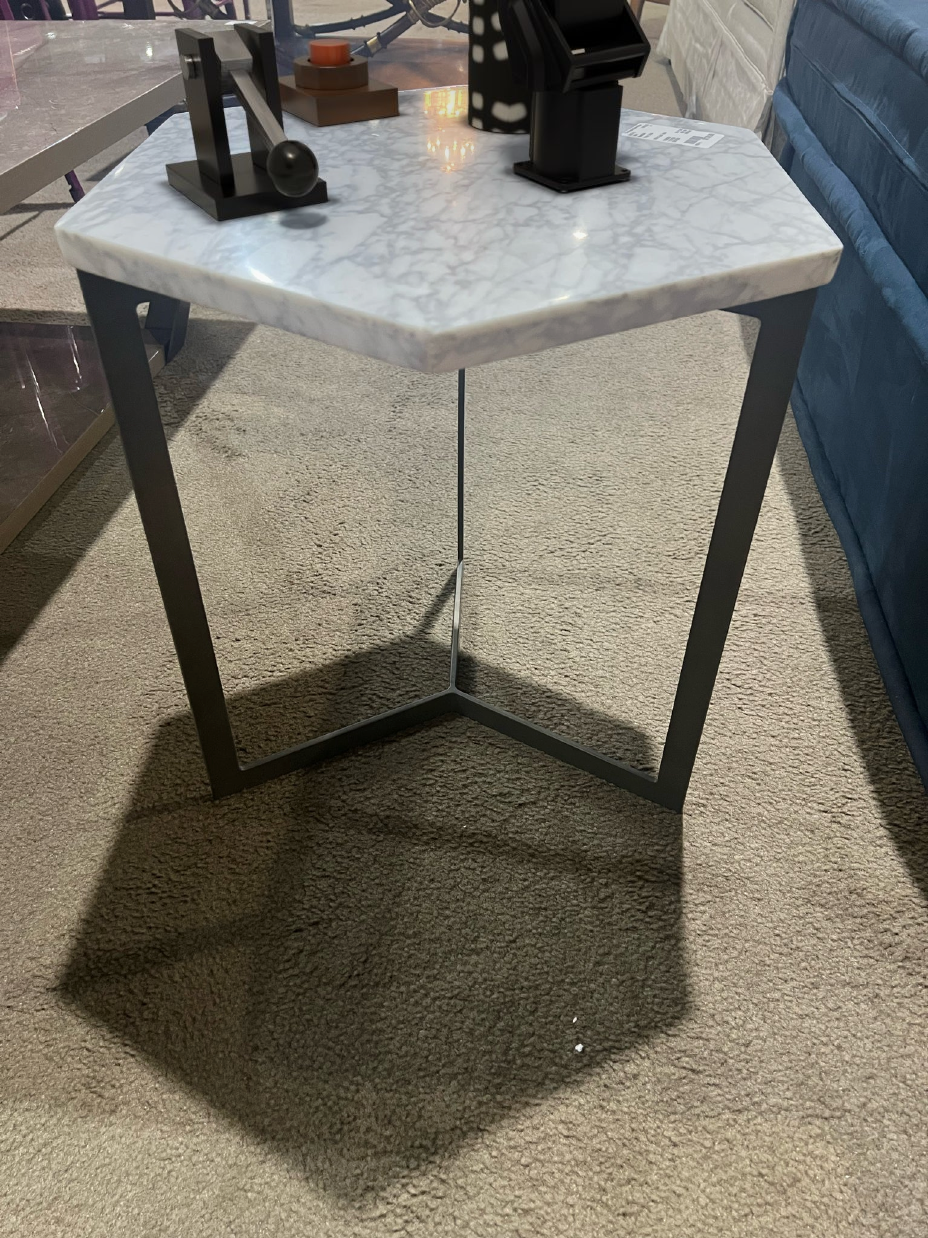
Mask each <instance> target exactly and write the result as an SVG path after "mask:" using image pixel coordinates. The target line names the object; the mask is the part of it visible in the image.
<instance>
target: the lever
mask: <svg viewBox="0 0 928 1238" xmlns="http://www.w3.org/2000/svg"><path fill="white" fill-rule="evenodd" d="M203 34H205V35H208V36H210V37H213V40H214V46H215V53H216V60H217V66H218V73H219V80H220V86H221V93H222V96H228V95H234V96H235V97H236V99H237V101H238V103H239V104H240V106H241V108H242V109H243V111H244V113H245V112H246V113H245V115H246V114H247V116H248V117H249V119H250V121H251V122H252V124H253V126H254V127H255V129H256V131H257V132H258V134H259V135H260V137H261V139H262V140H263V142H264V144H265V145H266V147H267V149H268V150H269V152H270V154H269V156H268V159H267V173H268V177H269V179H270V181H271V183H272V185H273V186H274V187H275V188H276V189H277V190H278V191H279V192H281V193H282V194H284V195H287V196H290V197H299V196H303V195H305V194H307V193H308V192H310V191H311V190H312V189H313V187H314V186H315V184H316V182H317V180H318V177H319V175H320V168H319V167H320V166H319V162H318V159H317V156H316V154H315V153H314V151H313V150H312V149H311V148H310V146H308V145H307V144H305V143H304V142H302V141H299V140H296V139H289V138H288V137H287V134H285V131H284V132H283V130H282V128H281V127H280V125H279V124H278V122H277V120H276V119H275V117H274V115H273V114H272V112H271V111H270V109H269V107H268V106H267V104H266V102H265V101H264V99H263V98H262V96H261V94H260V93H259V91H258V90H257V88H256V86H255V85H254V83H253V81H252V70H253V57H252V55H251V53H250V52H249V50H248V49H247V47H246V45H245V44H244V42H243V41H242V39H241V37H240V36H239V34H238V33H237V31H236V30H234V29H227V30H226V29H225V30H216V31H214V30H213V31H204V32H203Z"/></svg>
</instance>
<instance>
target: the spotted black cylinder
mask: <svg viewBox="0 0 928 1238" xmlns="http://www.w3.org/2000/svg"><path fill="white" fill-rule="evenodd" d="M467 1H468V3H467V6H468V8H467V10H468V13H467V14H468V17H467V19H468V22H467V25H468V26H467V33H468V34H467V35H468V36H467V61H468V62H467V122H468V124H469V125H470V126H472V127H474V128H477V129H479V130H482V131H488V132H493V133H501V134H530V116H531V100H532V98H533V92H532V91H527V88H525V87H523V86H518V85H515V84H514V83H513V80H512V75H511V70H510V64H509V59H508V54H507V49H506V43H505V38H504V35H503V33H502V30H501V27H500V23H499V16H498V3H494V4H493V3H492V2H491V0H467Z"/></svg>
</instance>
